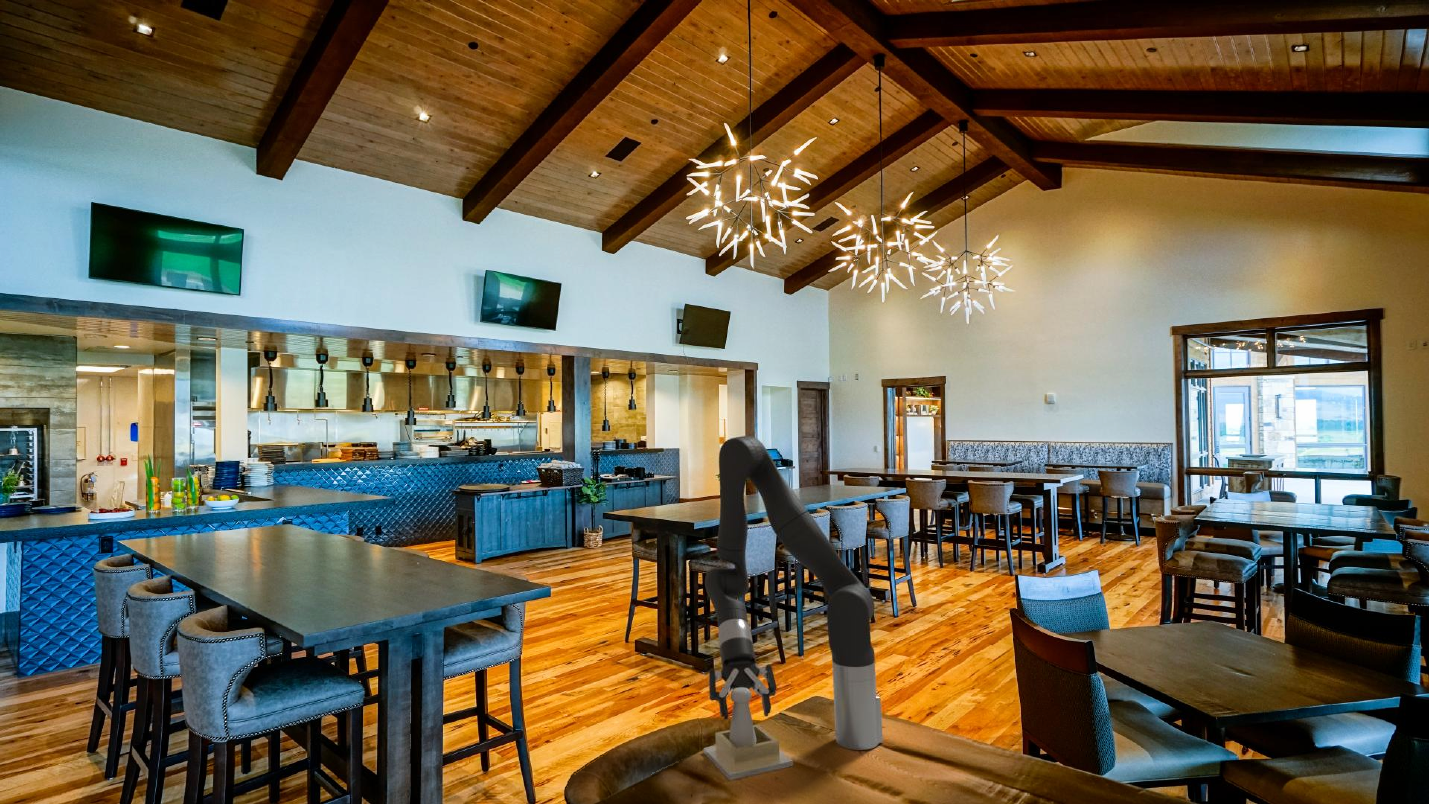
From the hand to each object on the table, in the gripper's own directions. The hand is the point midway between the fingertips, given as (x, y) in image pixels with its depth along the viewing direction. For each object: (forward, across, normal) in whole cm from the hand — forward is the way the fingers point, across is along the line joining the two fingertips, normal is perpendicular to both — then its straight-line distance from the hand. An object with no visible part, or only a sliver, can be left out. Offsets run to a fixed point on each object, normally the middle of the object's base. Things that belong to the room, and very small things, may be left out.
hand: (746, 716), depth 144 cm
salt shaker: (+4, -1, +7) cm, 9 cm away
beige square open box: (+6, 0, +7) cm, 9 cm away
